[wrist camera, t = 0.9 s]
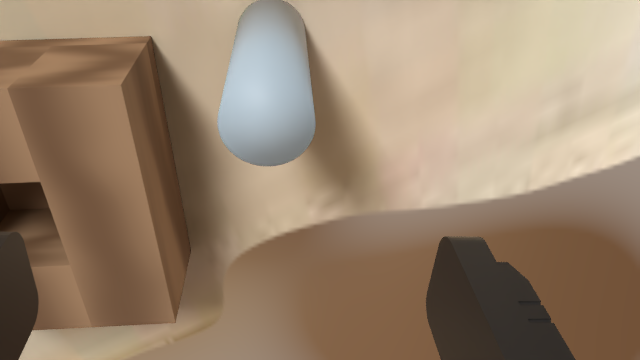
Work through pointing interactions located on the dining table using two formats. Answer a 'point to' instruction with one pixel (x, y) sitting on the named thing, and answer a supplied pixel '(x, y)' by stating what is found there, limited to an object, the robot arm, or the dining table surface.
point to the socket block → (91, 180)
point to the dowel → (268, 87)
